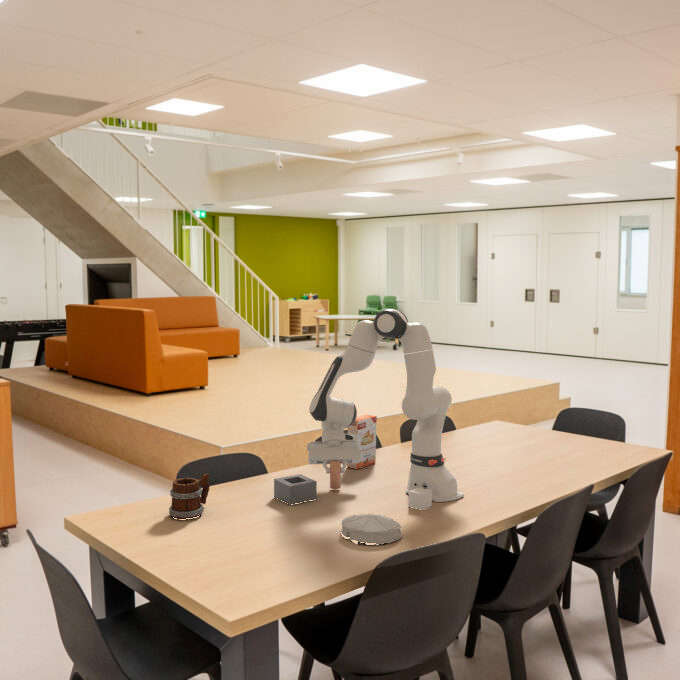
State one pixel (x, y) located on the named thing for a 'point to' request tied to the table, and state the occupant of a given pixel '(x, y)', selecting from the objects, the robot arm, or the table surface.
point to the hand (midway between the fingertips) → (335, 472)
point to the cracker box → (364, 439)
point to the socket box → (295, 489)
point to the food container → (371, 528)
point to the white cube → (420, 498)
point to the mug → (188, 497)
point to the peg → (335, 474)
